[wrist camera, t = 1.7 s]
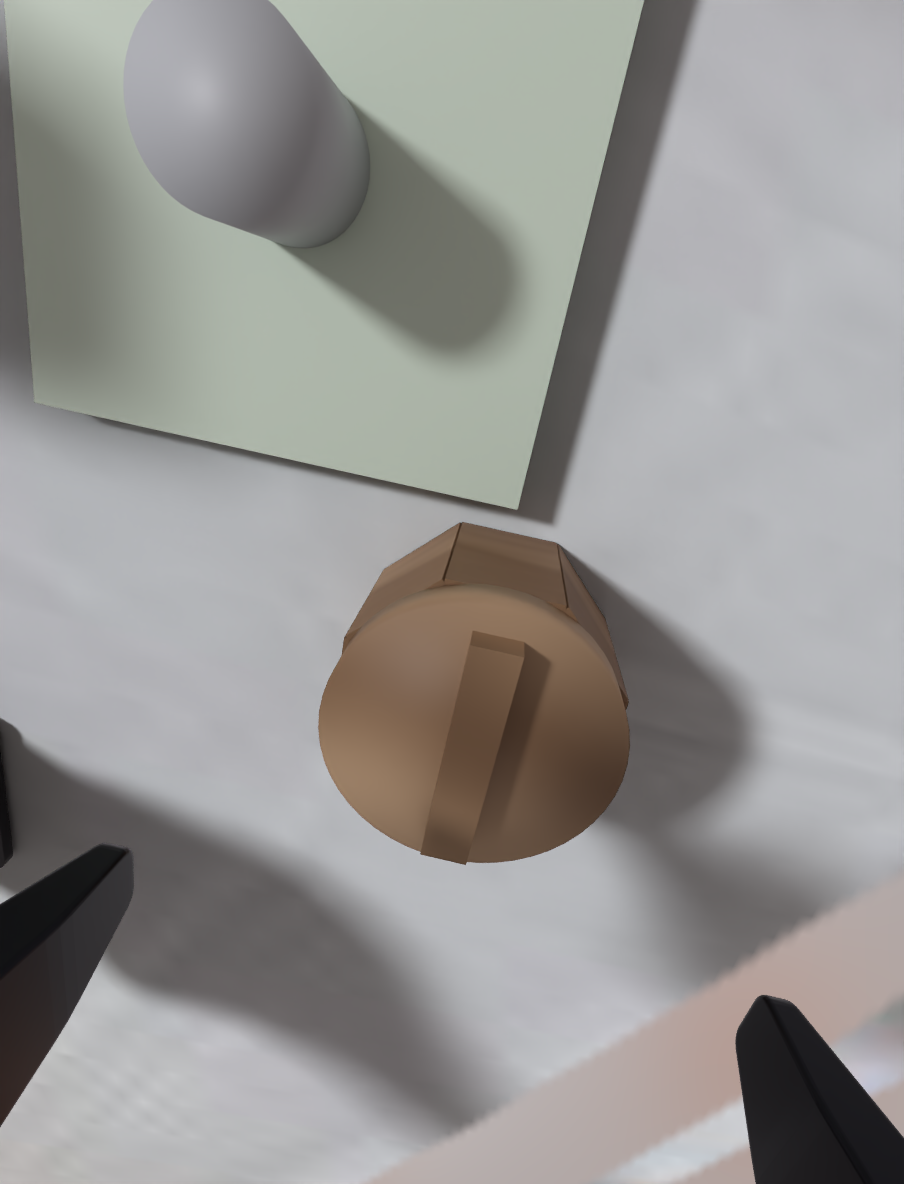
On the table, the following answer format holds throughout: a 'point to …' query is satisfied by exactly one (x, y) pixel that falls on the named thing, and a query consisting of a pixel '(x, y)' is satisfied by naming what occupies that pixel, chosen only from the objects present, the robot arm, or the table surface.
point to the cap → (477, 701)
